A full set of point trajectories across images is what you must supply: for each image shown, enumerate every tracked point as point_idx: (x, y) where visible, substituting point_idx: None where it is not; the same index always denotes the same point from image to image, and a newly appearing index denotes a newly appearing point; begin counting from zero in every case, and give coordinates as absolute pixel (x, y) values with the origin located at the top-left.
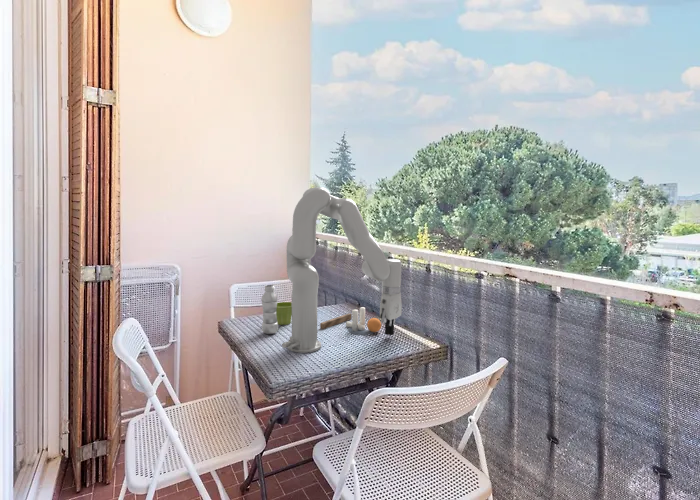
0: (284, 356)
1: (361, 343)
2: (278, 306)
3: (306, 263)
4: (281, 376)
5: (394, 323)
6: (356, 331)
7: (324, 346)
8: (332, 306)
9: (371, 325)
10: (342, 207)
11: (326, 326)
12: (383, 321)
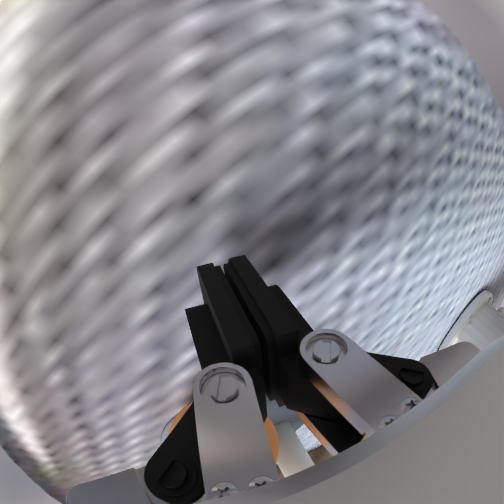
0: (494, 296)
1: (409, 282)
2: None
3: None
4: None
5: (201, 385)
6: (284, 420)
7: (454, 315)
8: None
9: (277, 434)
10: None
11: (319, 453)
12: (474, 352)
